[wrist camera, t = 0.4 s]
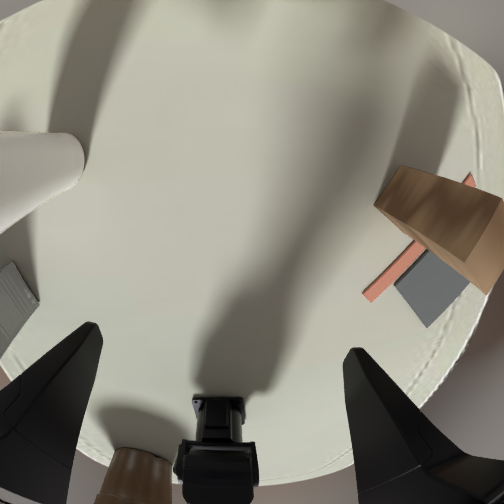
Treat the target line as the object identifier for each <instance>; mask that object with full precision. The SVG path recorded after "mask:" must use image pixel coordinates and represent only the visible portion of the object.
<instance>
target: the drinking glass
mask: <svg viewBox="0 0 504 504" xmlns="http://www.w3.org/2000/svg"><path fill="white" fill-rule="evenodd" d="M83 169H84V152H83V148H82V146H81V144H80V142H79V141H78V140H77V139H76V138H75V137H74V136H73V135H71V134H69V133H43V132H23V131H0V234H1V233H3V232H4V231H5V230H7V229H8V228H9V227H11V226H12V225H13V224H15V223H16V222H18V221H19V220H20V219H22V218H23V217H25V216H26V215H27V214H29V213H30V212H32V211H33V210H35V209H36V208H38V207H39V206H41V205H42V204H44V203H46V202H47V201H49V200H50V199H52V198H54V197H55V196H57V195H59V194H61V193H64V192H66V191H68V190H70V189H71V188H73V187H74V186H75V185H76V183H77V182H78V181H79V179H80V177H81V175H82V173H83Z"/></svg>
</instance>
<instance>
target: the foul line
mask: <svg viewBox="0 0 504 504" xmlns="http://www.w3.org/2000/svg"><path fill="white" fill-rule="evenodd" d="M462 184H465V185H468V186H471V187H474V188H475V187H476V185H475V182H474V180H473V178H472V176H471V175H470V174H469V176H468V177H467V178H466V180H465V181H464V182H463V183H462ZM424 249H425V247H423V246H422V245H421V244H419V243H418V242H416V241H415V240H414V242H413V243H412V244H411V245H410V246H409V247H408V248H407V249H406V250H405V251H404V252H403V253H402V254H401V255H400V256H399V257H398V258H397V260H396V261H395V262H394V263H393V264H392V265H391V266H390V267H389V268H388V269H387V270H386V271H385V272H384V273H383V274H382V275H381V276H380V277H379V278H378V279H376V280H375V281H374V282H373V283H372V284H371V285H370V286H369V287H368V288H367V289H366V290H365V291H364V292H363V293H362V294H363V295H364V296H365V297H366V298H367V299H368V300H369V301H370V302H372V301H374V300H375V299H376V298H377V297H378V296H379V295H380V294H381V293H382V292H383V291H384V290H385V289H386V288H387V287H388V286H389V285H390V284H391V283H392V282H393V281H394V280H395V279H396V278H397V277H398V276H399V275H400V274H401V273H402V272H403V271H404V270H405V269H406V268H407V267H408V266H409V265H410V264H411V263H412V262H413V261H414V260H415V259H416V258H417V257H418V256H419V254H420V253H421V252H422V251H423V250H424Z"/></svg>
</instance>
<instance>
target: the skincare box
mask: <svg viewBox="0 0 504 504" xmlns="http://www.w3.org/2000/svg"><path fill="white" fill-rule="evenodd" d="M38 306H39V303H38V302H37V300H36V298H35V297H34V295H33V294H32V293H31V291H30V290H29V288H28V287H27V285H26V284H25V282H24V280H23V278H22V277H21V275H20V273H19V271H18V270H17V268H16V266H15V264H14V262H13V261H12V262H10V263H9V264H7V265H6V266H5V267H4V268H3V269H1V270H0V359H1V357H2V356H3V354H4V353H5V351H6V350H7V348H8V347H9V345H10V344H11V342H12V341H13V339H14V338H15V337H16V335H17V334H18V332H19V331H20V330H21V328H22V327H23V326H24V324H25V323H26V321H27V320H28V319H29V318H30V316H31V315H32V314H33V312H34V311H35V310H36V309H37V307H38Z"/></svg>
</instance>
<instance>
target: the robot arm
mask: <svg viewBox="0 0 504 504" xmlns="http://www.w3.org/2000/svg"><path fill="white" fill-rule="evenodd" d="M102 346H103V337H102V335H101V332H100V329H99V326H98V325H97V323H93V322H85V323H84V324H83V325H81V326H80V327H79V328H77V329H76V330H75V331H73V332H72V333H71V334H70V335H68V336H67V337H66V338H65V339H63V340H62V341H61V342H59V343H58V344H57V345H56V346H54V347H53V348H52V349H51V350H49V351H48V352H47V353H46V354H45V355H43V356H42V357H41V358H40V359H38V360H37V361H36V362H35V363H34V364H32V365H31V366H30V367H29V368H28V369H26V370H25V371H24V372H23V373H22V375H19V376H18V377H17V378H16V379H14V380H13V381H12V382H11V383H10V384H8V385H7V386H6V387H4V388H3V389H2V390H0V504H66V501H67V494H68V488H69V482H70V476H71V469H72V465H73V460H74V455H75V451H76V446H77V442H78V438H79V434H80V430H81V426H82V422H83V418H84V415H85V411H86V407H87V404H88V401H89V397H90V394H91V391H92V388H93V384H94V381H95V377H96V373H97V368H98V363H99V359H100V354H101V350H102ZM343 377H344V392H345V404H346V411H347V417H348V423H349V429H350V435H351V442H352V449H353V456H354V464H355V471H356V480H357V489H358V501H359V504H504V460H496V459H489V458H483V457H477V456H472V455H469V454H467V453H465V452H463V451H462V450H461V449H459V448H458V447H457V446H456V445H455V444H454V443H453V442H452V441H451V440H449V439H448V438H447V437H446V436H445V435H444V434H443V433H442V432H441V431H440V430H439V429H437V428H436V427H435V426H434V425H433V424H432V423H431V421H430V420H429V419H428V418H427V417H426V416H425V415H424V414H423V413H422V412H420V410H419V408H418V407H417V406H416V405H415V404H414V403H413V402H412V401H411V400H410V399H409V397H408V396H407V395H406V394H405V393H404V392H403V391H402V390H401V389H400V388H399V386H398V385H397V384H396V383H395V382H394V381H393V380H392V379H391V378H390V377H389V376H388V374H387V373H386V372H385V371H384V370H383V369H382V368H381V367H380V366H379V365H378V364H377V363H376V362H375V360H374V359H373V358H372V357H371V356H370V355H369V354H368V353H367V352H366V351H365V350H364V349H363V348H361V347H354V348H351V349H350V351H349V353H348V354H347V356H346V358H345V359H344V362H343ZM192 404H193V407H194V411H195V414H196V417H197V430H196V441H191V440H187V439H182V444H180V445H179V449H178V456H177V459H176V461H175V464H174V467H173V472H174V473H175V474H176V475H177V479H178V483H179V484H182V491H183V492H182V494H183V497H184V499H185V501H186V502H187V504H250V503H251V501H252V500H253V497H254V493H253V487H258V485H259V468H258V460H257V453H256V447H255V442H242V425H243V424H244V423H245V420H244V403H243V398H193V399H192Z"/></svg>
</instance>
